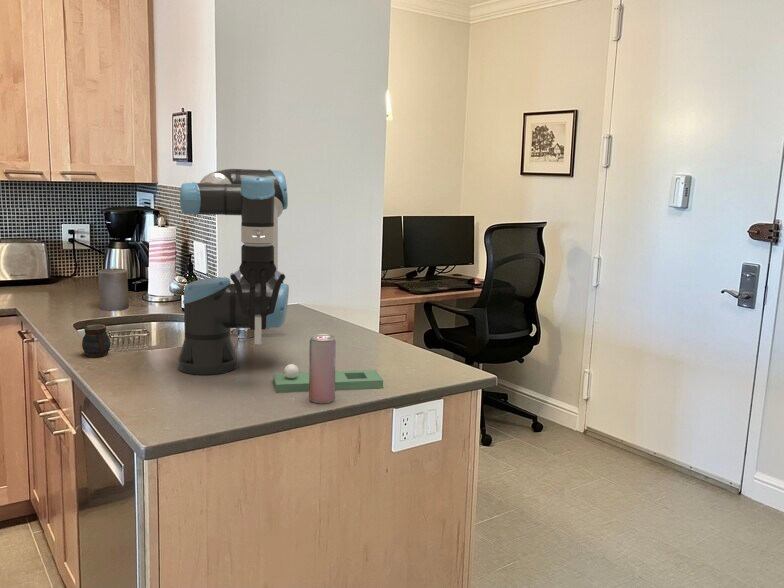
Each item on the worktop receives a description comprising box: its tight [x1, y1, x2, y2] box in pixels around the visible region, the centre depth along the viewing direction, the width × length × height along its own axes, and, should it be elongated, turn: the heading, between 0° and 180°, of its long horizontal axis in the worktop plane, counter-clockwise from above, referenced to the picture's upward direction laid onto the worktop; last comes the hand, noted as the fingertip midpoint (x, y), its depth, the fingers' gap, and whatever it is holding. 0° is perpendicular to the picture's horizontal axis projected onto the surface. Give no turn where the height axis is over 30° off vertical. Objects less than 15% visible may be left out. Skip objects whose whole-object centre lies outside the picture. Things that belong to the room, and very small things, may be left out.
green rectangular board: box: [272, 369, 384, 394], centre depth 173 cm, size 26×9×2 cm, turn 104°
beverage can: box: [308, 333, 337, 405], centre depth 161 cm, size 6×6×15 cm
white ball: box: [283, 363, 300, 379], centre depth 171 cm, size 4×4×4 cm
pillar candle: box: [97, 267, 130, 312], centre depth 250 cm, size 10×10×15 cm
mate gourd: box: [79, 321, 111, 358], centre depth 191 cm, size 7×8×10 cm
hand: (257, 342), depth 167 cm, fingers closed
